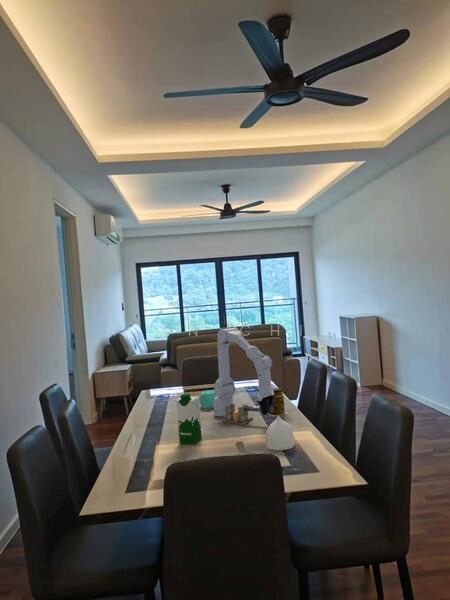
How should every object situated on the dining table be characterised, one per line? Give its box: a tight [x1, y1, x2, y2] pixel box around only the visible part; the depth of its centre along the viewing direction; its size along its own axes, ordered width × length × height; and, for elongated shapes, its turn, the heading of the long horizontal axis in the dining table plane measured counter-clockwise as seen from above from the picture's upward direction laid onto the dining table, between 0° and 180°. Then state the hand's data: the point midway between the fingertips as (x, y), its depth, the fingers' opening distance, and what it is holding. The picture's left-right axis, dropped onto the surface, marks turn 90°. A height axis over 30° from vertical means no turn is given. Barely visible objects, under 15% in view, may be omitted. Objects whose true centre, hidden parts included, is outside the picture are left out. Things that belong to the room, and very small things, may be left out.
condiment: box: [267, 387, 288, 418], centre depth 214 cm, size 7×8×12 cm
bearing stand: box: [222, 402, 254, 426], centre depth 206 cm, size 10×10×8 cm
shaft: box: [241, 405, 273, 414], centre depth 201 cm, size 15×4×4 cm, turn 61°
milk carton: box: [175, 393, 203, 445], centre depth 182 cm, size 9×9×20 cm
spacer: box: [233, 408, 239, 421], centre depth 206 cm, size 2×5×5 cm, turn 160°
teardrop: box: [265, 415, 295, 451], centre depth 170 cm, size 11×11×12 cm
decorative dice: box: [199, 389, 217, 409], centre depth 238 cm, size 8×8×8 cm
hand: (266, 413), depth 198 cm, fingers closed on shaft, 4 cm apart
